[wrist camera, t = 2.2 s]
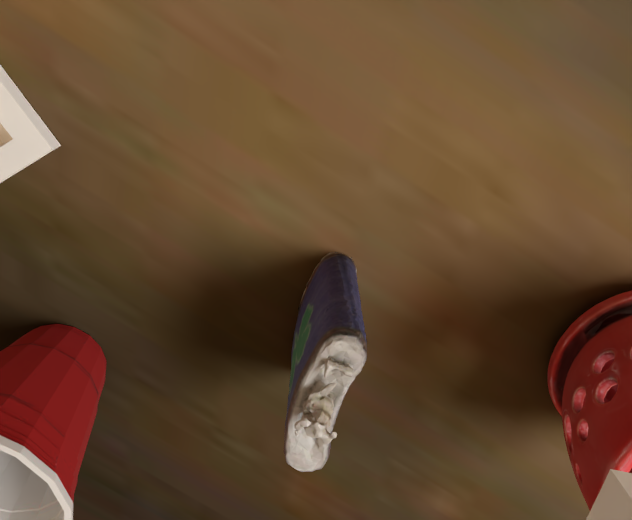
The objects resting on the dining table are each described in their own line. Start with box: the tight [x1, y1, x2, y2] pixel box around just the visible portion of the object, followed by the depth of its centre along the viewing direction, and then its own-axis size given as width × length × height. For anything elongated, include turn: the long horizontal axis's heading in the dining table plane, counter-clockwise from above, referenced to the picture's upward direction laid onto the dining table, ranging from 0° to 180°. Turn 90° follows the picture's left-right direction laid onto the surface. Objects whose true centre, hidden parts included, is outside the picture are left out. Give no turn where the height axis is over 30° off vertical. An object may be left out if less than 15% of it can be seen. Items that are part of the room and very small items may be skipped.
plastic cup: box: [0, 324, 107, 520], centre depth 32 cm, size 11×11×12 cm
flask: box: [284, 252, 367, 472], centre depth 30 cm, size 9×3×11 cm, turn 165°
